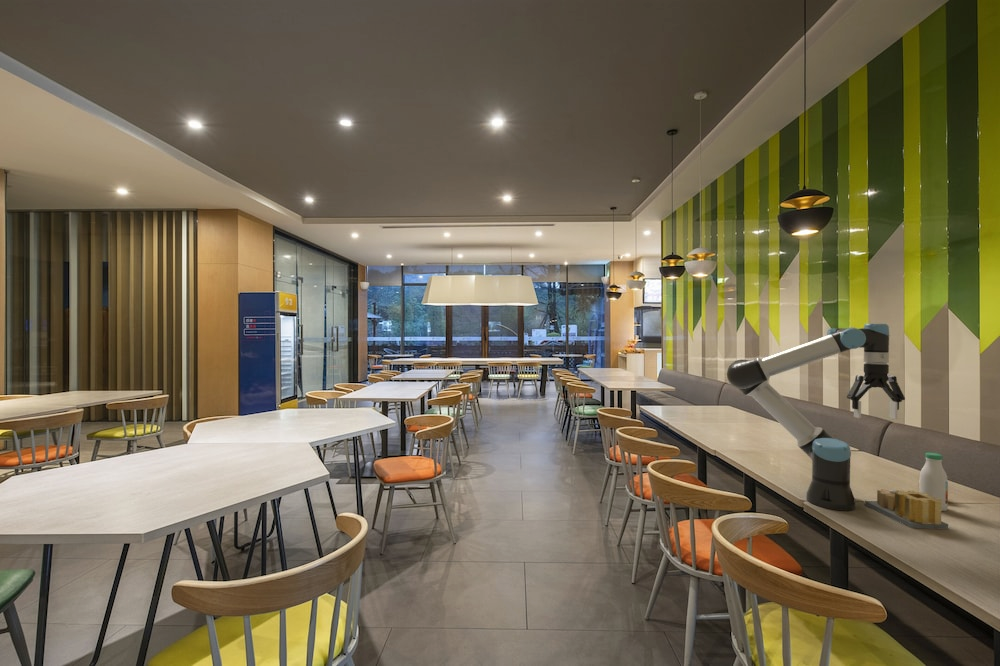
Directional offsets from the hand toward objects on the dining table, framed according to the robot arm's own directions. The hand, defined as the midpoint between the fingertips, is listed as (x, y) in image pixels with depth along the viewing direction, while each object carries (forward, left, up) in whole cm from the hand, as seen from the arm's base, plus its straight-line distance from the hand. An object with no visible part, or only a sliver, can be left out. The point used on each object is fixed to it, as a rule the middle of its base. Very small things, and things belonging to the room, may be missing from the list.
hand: (875, 418), depth 177 cm
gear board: (-2, -16, -32) cm, 36 cm away
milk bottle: (+16, -7, -32) cm, 36 cm away
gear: (-2, -21, -30) cm, 37 cm away
